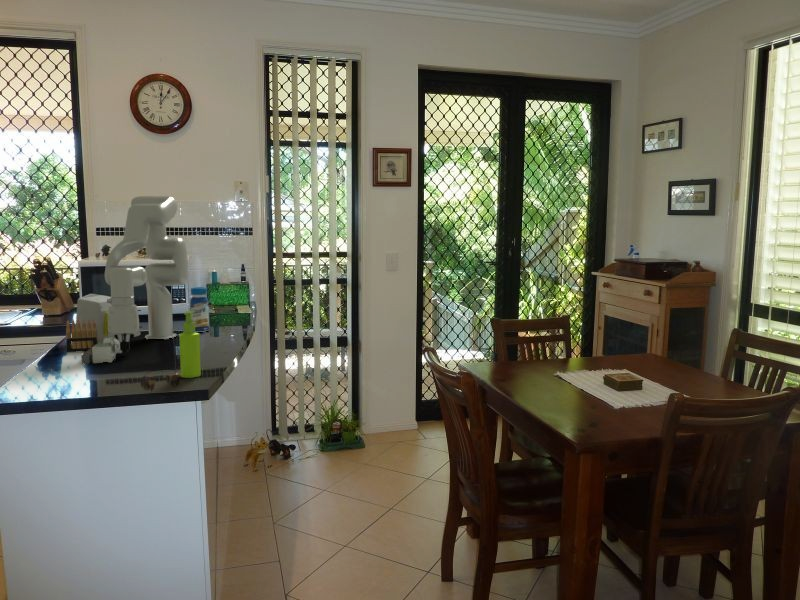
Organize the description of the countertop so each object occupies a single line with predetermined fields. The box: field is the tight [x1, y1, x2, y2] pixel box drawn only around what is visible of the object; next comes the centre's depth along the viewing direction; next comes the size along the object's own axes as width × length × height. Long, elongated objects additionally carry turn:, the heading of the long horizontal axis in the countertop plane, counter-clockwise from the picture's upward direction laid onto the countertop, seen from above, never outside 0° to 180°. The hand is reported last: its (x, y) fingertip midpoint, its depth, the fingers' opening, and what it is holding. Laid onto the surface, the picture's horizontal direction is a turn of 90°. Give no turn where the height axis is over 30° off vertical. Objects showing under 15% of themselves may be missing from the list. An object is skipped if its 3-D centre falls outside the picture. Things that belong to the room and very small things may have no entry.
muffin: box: [103, 338, 119, 356], centre depth 222 cm, size 6×6×7 cm
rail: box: [80, 335, 125, 365], centre depth 222 cm, size 24×9×6 cm, turn 14°
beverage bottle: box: [189, 286, 211, 331], centre depth 278 cm, size 8×8×20 cm
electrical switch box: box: [75, 293, 112, 345], centre depth 251 cm, size 15×15×20 cm
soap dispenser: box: [178, 310, 202, 379], centre depth 192 cm, size 6×7×20 cm
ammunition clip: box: [65, 319, 98, 353], centre depth 233 cm, size 11×2×12 cm, turn 108°
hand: (125, 352), depth 224 cm, fingers closed
